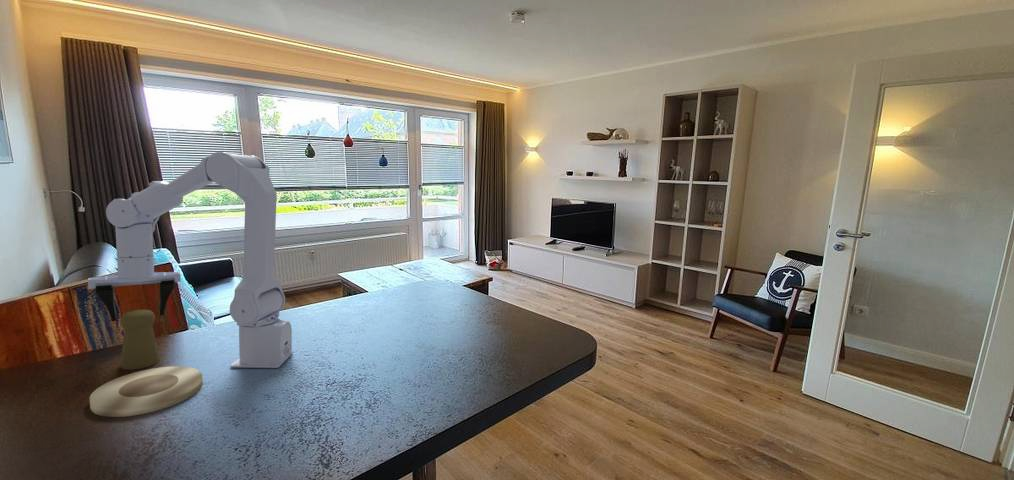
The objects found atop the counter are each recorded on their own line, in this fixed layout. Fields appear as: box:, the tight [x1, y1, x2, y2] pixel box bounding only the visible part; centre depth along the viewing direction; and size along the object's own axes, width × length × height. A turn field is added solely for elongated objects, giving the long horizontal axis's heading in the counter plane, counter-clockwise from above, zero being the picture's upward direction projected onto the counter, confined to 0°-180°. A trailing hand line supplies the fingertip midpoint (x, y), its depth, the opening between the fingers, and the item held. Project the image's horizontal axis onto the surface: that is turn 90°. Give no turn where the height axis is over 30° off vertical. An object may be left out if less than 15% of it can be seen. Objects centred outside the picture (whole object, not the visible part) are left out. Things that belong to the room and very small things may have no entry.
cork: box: [119, 309, 161, 370], centre depth 82 cm, size 6×6×11 cm
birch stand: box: [88, 365, 203, 418], centre depth 72 cm, size 15×15×2 cm
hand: (138, 316), depth 88 cm, fingers open, 7 cm apart
